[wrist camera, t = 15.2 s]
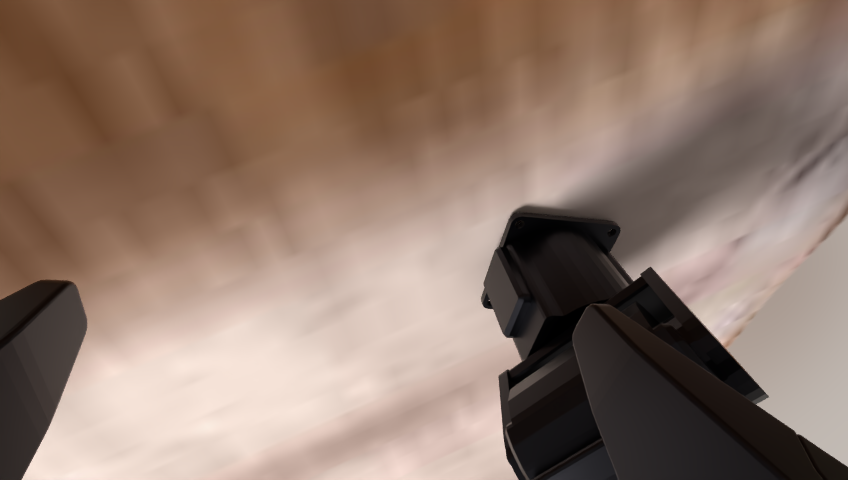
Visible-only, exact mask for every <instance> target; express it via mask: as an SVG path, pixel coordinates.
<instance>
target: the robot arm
mask: <svg viewBox="0 0 848 480" xmlns="http://www.w3.org/2000/svg"><path fill="white" fill-rule="evenodd" d="M520 220H522V222H521V223H520V224H516V222H518V221H520ZM611 229H612V230H611ZM609 230H611V231H610V232H608V231H609ZM620 231H621V230H620V227H619V226H618V225H617V224H616V223H615V222H613V221H605V220H594V219H584V218H574V217H563V216H553V215H543V214H532V213H522V212H519V213H515V214H513V215H512V216H511V217H510V218H509V220H508V223H507V226H506V229H505V232H504V234H503V237H502V240H501V243H500V246H499V247H498V248H497V249H496V250H495V252H494V255H493V257H492V260H491V263H490V266H489V269H488V272H487V275H486V278H485V280H484V287H485V288H484V291H483V294H482V297H481V301H482V304H483V306H484V307H485V308H487V309H493V310H494V312H495V315H496V317H497V320H498V322H499V325H500V327H501V330H502V332H503V334H504V335H505V336H506V338H513V340H514V343H515V345H516V348H517V350H518V352H519V355H520V357H521V360H522V362H521V363H519V364H518V365H516V366H515V367H514V368H512V369H511V370H506V371H505V372H503V373H502V374H500V375H499V387H500V399H501V411H502V423H503V435H504V443H505V449H506V456H507V460H508V462H509V463H510V465H511V466H512V468H513V470H514V472H515V474H516V476H517V477H518V479H519V480H848V467H847V466H846V465H844V464H842V463H841V462H840V461H838V460H837V459H835V458H834V457H832V456H830V455H829V454H828V453H826V452H825V451H823V450H821V449H820V448H818V447H817V446H816V445H814V444H813V443H811V442H810V441H808V440H807V439H805V438H804V437H803V436H801V435H799V434H796V433H795V431H794V430H792V429H791V428H789V427H788V426H787V425H785V424H784V423H782V422H781V421H779V420H777V419H776V418H775V417H773V416H772V415H770V414H769V413H767V412H766V411H765V410H763V409H762V408H760V407H759V406H757V405H756V404H757V403H759V402H761V401H763V400H765V399H766V398H768V397H769V396H768V395H767V394H766V393H765V392H764V391H763V390H762V388H761V387H760V386H759V385H758V384H757V383H756V382H755V381H754V379H753V378H752V377H751V376H750V375H749V374H748V373H747V372H746V371H745V369H744V368H743V367H742V366H741V365H740V364H739V363H738V362H737V361H736V359H735V358H734V357H733V356H732V355H731V354H730V353H729V352H728V351H727V349H726V348H725V347H724V346H723V345H722V344H721V343H720V342H719V341H718V340H717V338H716V337H715V336H714V335H713V334H712V333H711V332H710V331H709V330H708V329H707V328H706V326H705V325H704V324H703V323H702V322H701V321H700V320H699V319H698V318H697V317H696V315H695V314H694V313H693V312H692V311H691V310H690V309H689V308H688V307H687V306H686V305H685V304H684V302H683V301H682V300H681V299H680V298H679V297H678V296H677V295H676V294H675V293H674V292H673V290H672V289H671V288H670V287H669V286H668V285H667V284H666V283H665V282H664V281H663V280H662V279H661V277H660V276H659V275H658V274H657V273H656V272H655V271H654V270H653V269H652V268H651V267H650V268H648V269H647V270H645V271H644V272H643V273H641V274H640V275H641V277H639V278H638V279H637V280H635V281H633V280H632V279H631V278H630V276H629V275H628V274H627V273H626V271H625V270H624V269H623V268H622V267H621V265H620V264H619V263H618V262H617V261H616V259H615V258H614V257H613V256H612V254H611V253H610V251H611V249H612V247H613V245H614V243H615V241H616V239H617V237H618V236H619V234H620ZM488 300H490V301H488ZM86 330H87V317H86V314H85V311H84V307H83V304H82V301H81V298H80V295H79V291H78V289H77V286H76V285H75V284H74V283H73V282H71V281H64V280H40V281H37V282H35V283H33V284H31V285H29V286H27V287H25V288H23V289H21V290H19V291H17V292H15V293H13V294H11V295H9V296H7V297H6V298H4V299H2V300H0V480H22V478H23V476H24V474H25V472H26V470H27V468H28V466H29V465H30V463H31V461H32V459H33V457H34V455H35V453H36V451H37V449H38V447H39V446H40V444H41V442H42V440H43V438H44V436H45V434H46V432H47V430H48V428H49V426H50V424H51V421H52V419H53V416H54V414H55V412H56V409H57V407H58V404H59V402H60V399H61V396H62V394H63V391H64V389H65V386H66V383H67V381H68V378H69V376H70V373H71V371H72V368H73V365H74V363H75V360H76V358H77V355H78V352H79V350H80V347H81V345H82V342H83V339H84V337H85V334H86Z"/></svg>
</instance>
